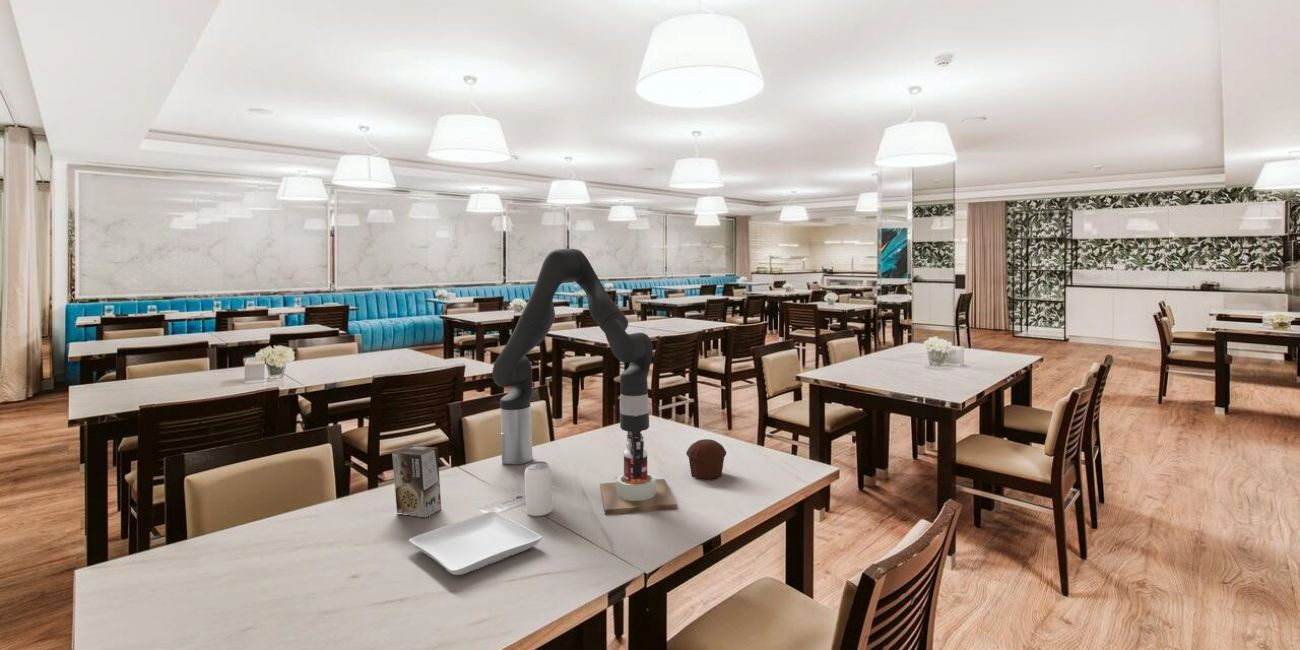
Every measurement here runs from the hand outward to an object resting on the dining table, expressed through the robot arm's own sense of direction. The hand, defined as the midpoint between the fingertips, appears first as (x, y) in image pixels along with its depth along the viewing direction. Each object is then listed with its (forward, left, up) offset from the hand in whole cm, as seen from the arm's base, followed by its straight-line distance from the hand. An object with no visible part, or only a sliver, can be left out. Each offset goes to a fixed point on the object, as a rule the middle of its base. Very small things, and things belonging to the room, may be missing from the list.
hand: (635, 473), depth 157 cm
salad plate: (-38, -22, -7) cm, 44 cm away
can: (-25, -4, -7) cm, 26 cm away
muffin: (+22, +13, -7) cm, 27 cm away
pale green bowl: (0, 0, -5) cm, 5 cm away
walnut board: (0, 0, -7) cm, 7 cm away
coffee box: (-55, +2, -7) cm, 55 cm away
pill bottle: (0, 0, -3) cm, 3 cm away
